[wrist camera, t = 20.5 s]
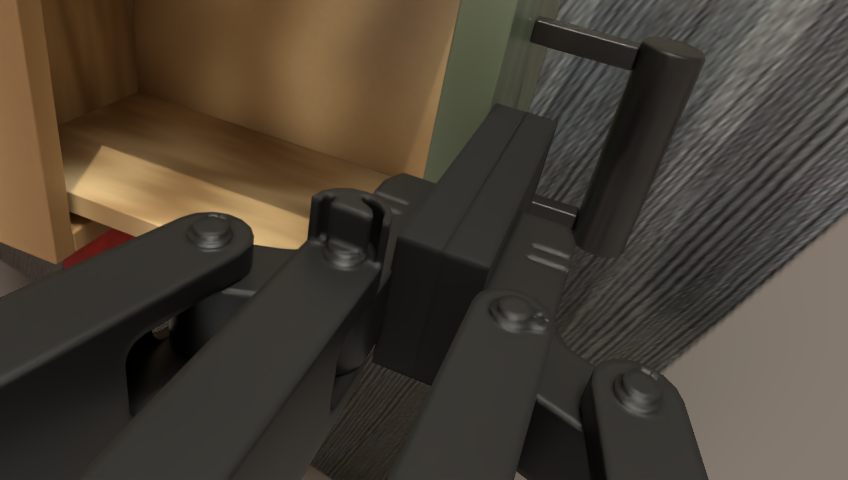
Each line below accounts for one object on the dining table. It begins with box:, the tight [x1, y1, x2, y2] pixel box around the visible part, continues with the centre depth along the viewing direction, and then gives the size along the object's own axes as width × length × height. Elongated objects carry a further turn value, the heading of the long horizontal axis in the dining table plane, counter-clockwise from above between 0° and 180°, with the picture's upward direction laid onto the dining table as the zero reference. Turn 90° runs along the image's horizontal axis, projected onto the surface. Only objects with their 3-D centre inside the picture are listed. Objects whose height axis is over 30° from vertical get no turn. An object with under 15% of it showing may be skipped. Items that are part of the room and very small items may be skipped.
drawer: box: [41, 0, 705, 258], centre depth 20 cm, size 21×13×9 cm, turn 79°
